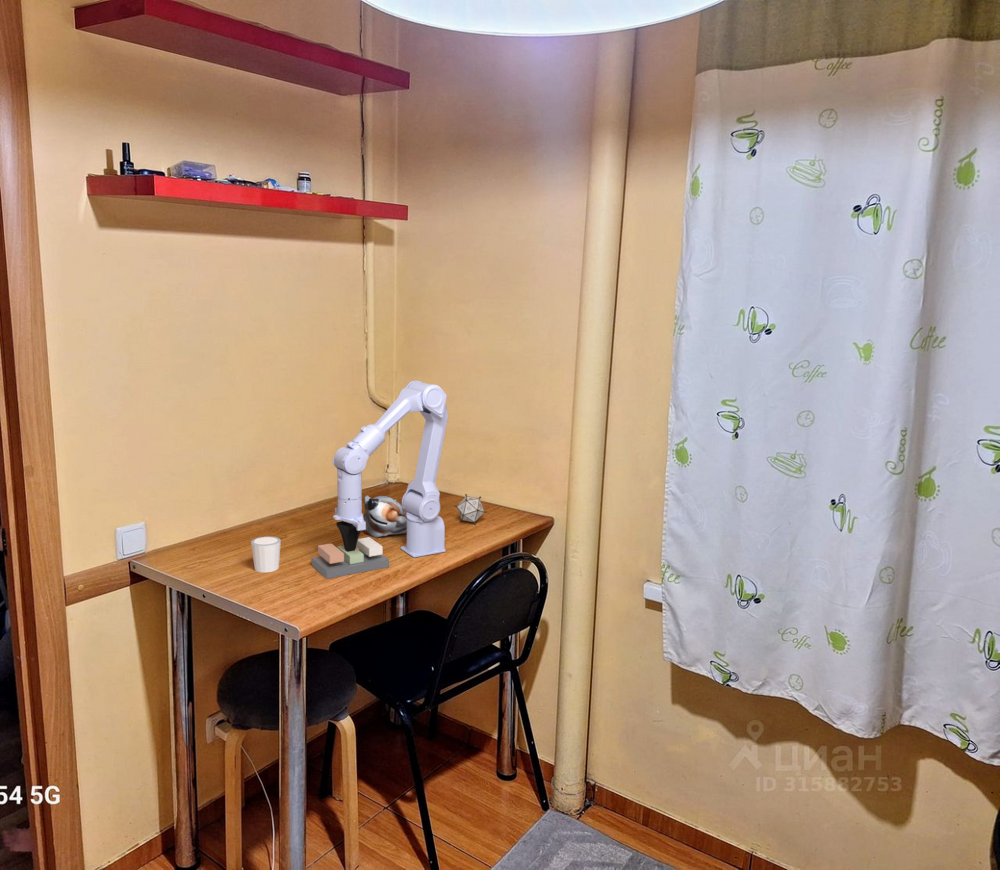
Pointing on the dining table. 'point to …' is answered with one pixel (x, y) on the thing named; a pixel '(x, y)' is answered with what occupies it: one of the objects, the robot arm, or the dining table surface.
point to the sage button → (352, 555)
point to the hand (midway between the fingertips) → (350, 550)
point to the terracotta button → (330, 553)
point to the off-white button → (369, 546)
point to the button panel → (349, 566)
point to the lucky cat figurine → (384, 516)
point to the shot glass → (266, 553)
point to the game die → (470, 509)
